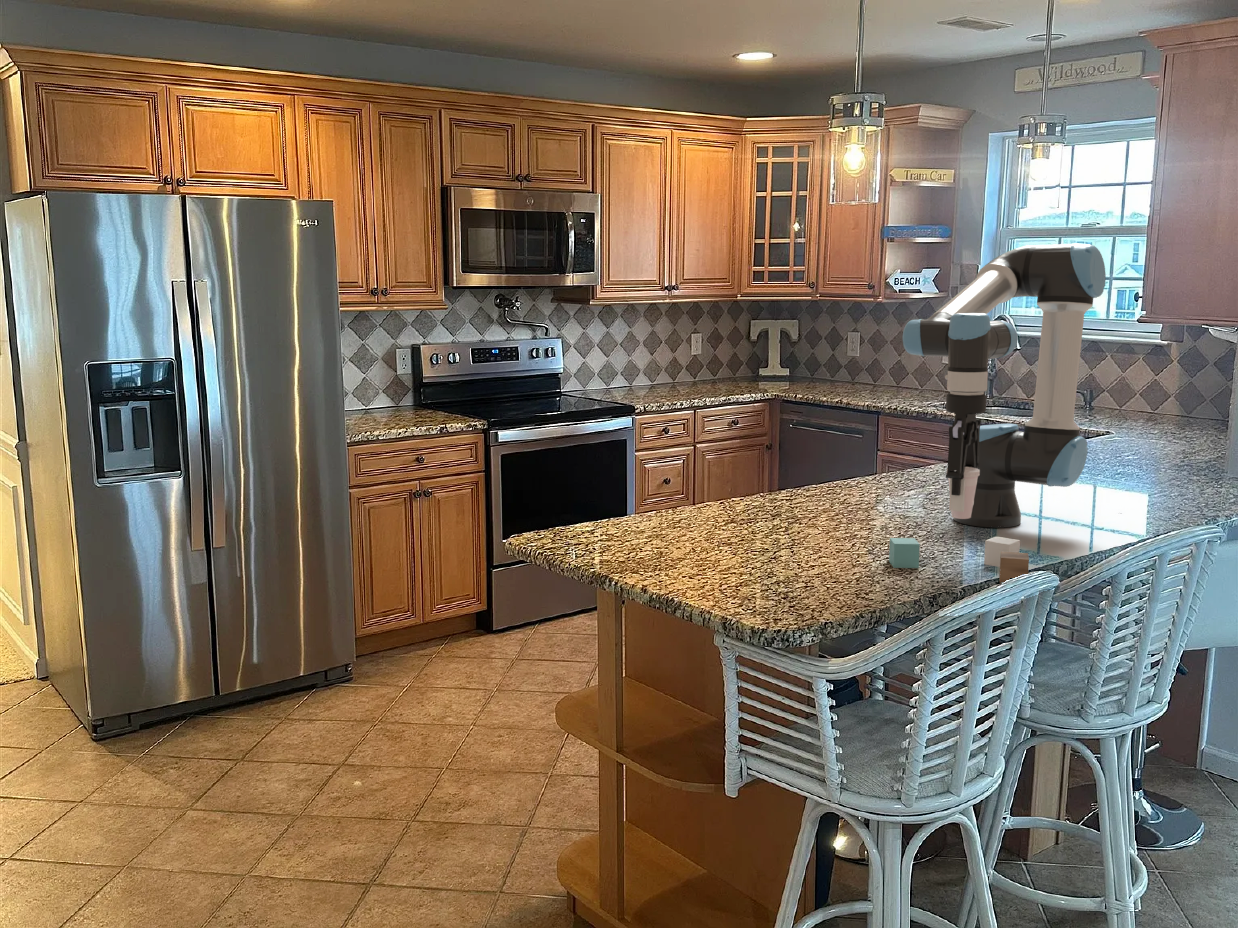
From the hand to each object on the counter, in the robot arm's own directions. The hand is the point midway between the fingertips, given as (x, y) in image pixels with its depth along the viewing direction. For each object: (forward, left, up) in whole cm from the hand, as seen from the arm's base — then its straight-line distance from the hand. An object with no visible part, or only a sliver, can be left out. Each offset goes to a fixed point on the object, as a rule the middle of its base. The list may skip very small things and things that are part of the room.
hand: (961, 507), depth 215 cm
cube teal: (+5, -10, -12) cm, 16 cm away
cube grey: (-6, +7, -12) cm, 15 cm away
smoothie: (0, 0, -2) cm, 2 cm away
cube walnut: (+5, +12, -12) cm, 18 cm away
